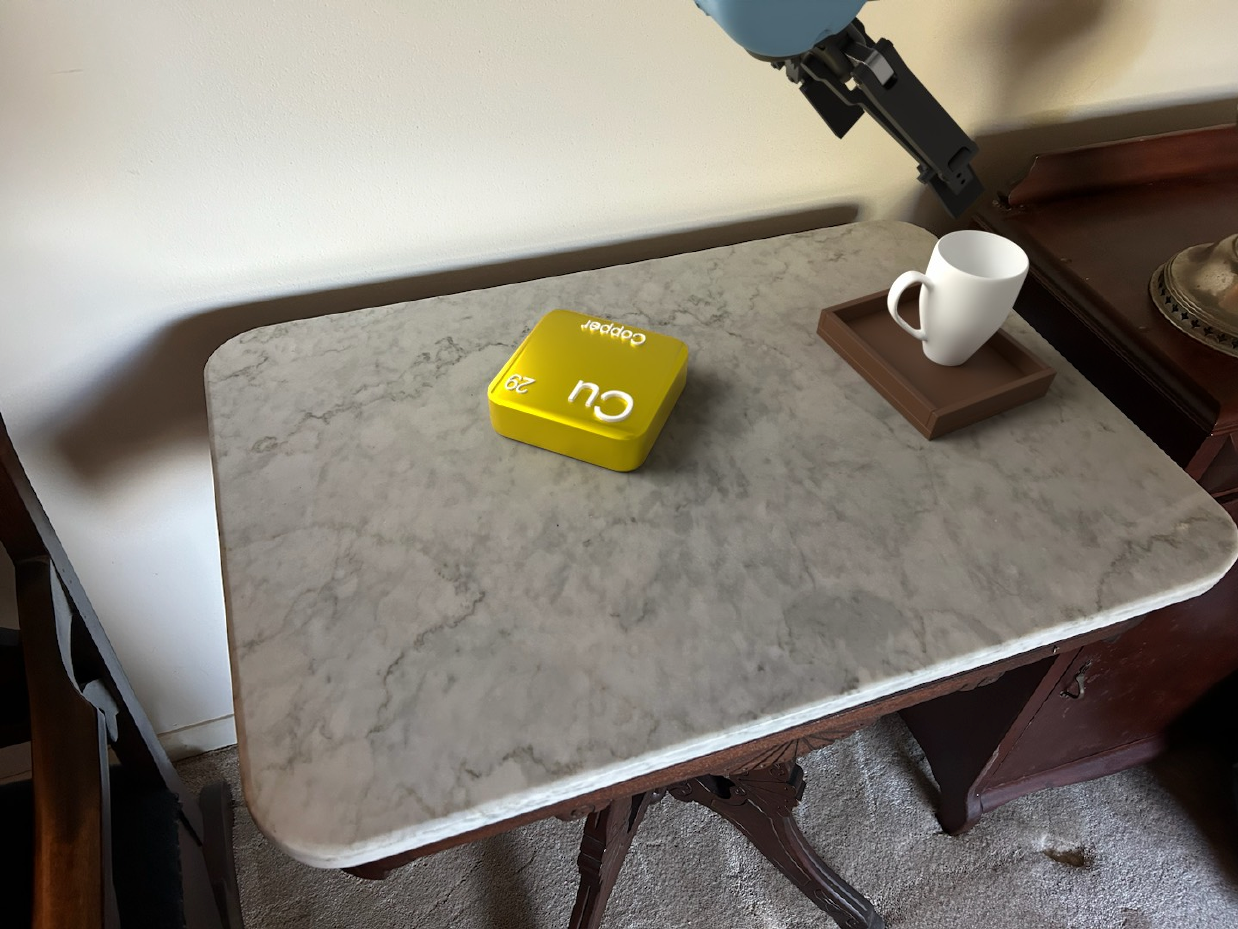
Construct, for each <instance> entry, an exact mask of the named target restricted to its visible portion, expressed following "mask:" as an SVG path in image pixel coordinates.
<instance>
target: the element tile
mask: <svg viewBox="0 0 1238 929" xmlns="http://www.w3.org/2000/svg"><path fill="white" fill-rule="evenodd" d="M689 357H690V352H689V346H688V345H687V344H686V343H685V342H684V341H683V340H681V339H679V338H677V337H674V336H670V335H666V334H663V333H659V332H655V331H652V330H649V329H644V328H640V327H637V326H633V325H630V324H625V323H621V322H617V321H613V320H609V319H607V318H603V317H600V316H599V317H598V316H595V315H591V314H587V313H584V312H581V311H577V310H576V311H575V310H572V309H565V308H564V309H563V308H555V309H553V310H551V311H549V312H547V313H546V314H545V315H543V316H542V317H541V318H540V320H539V321H538V322H537V324H536V325H535V326H534V327H533V329H532V330H531V332H530V333H529V334H528V335H527V336H526V338H525V339H524V340H523V342H522V343H520V345H519V347H518V348H517V349H516V351H515V352H514V353H513V354H512V355H511V357H510V358H509V360H508V361H507V362H506V363H505V364H504V366H503V367H502V368H501V370H500V371H499V372H498V373H497V375H496V376H495V377H494V378H493V380H492V381H491V382H490V384H489V385H488V389H487V401H488V409H489V417H490V424H491V425H492V428H493V431H495V432H496V433H497V434H499V435H500V436H503V437H505V438H508V439H511V440H514V441H518V442H521V443H525V444H528V445H531V446H535V447H538V448H541V449H544V450H547V451H550V452H553V453H557V454H560V455H563V456H567V457H569V458H573V459H576V460H580V461H582V462H585V463H589V464H593V465H596V466H598V467H602V468H605V469H609V470H611V471H615V472H631V471H634V470H636V469H638V468H639V467H641V466H642V465H643V463H645V461H646V460H647V458H648V456H649V454H650V452H651V450H652V448H653V446H654V445H655V443H656V441H657V439H658V437H659V435H660V433H661V432H662V430H663V428H664V426H665V424H666V422H667V420H668V418H669V417H670V415H671V414H672V411H673V409H674V407H675V405H676V404H677V402H678V400H679V398H680V396H681V395H682V392H683V390H684V389H685V386H686V383H687V375H688V367H689V366H688V365H689Z"/></svg>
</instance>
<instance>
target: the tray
mask: <svg viewBox="0 0 1238 929" xmlns="http://www.w3.org/2000/svg"><path fill="white" fill-rule="evenodd" d="M921 287H922V282H914V283H912V284H910V285H909V286H908V287H906V288H905V289H904V291H903V292H902V293H901V295H900V297H899V300H898V304H897V313H898V315H899V316H900V318H901V319H902V320H904V321H905V322H906V323H907V324H908V325H909V326H910V327H912V328H913V329H915V330H921V324H920V311H919V300H920V292H921ZM890 289H891V287H889V288H886V289H883V290H879V291H877V292H873V293H870V294H867V295H864V296H860V297H857V298H854V299H851V300H848V301H844V302H841V303H837V304H834V305H831V306H828V307H825V308H822V309H821V310H820V314H819V318H818V323H817V328H816V330H815V332H816V335H818V336H819V337H820V338H821V339H822V340H823V341H824V342H825V343H826V344H827V345H828V346H829V347H830V348H831V349H832V350H833V351H835V353H837V354H838V355H839V356H840V358H842V359H843V360H844V361H845V362H846V363H847V364H848V366H850V367H851V368H852V369H853V370H854V371H855V372H856V373H857V374H858V375H860V377H862V378H863V379H864V380H865V381H866V383H867V384H868V385H870V386H871V387H872V388H873V389H874V390H875V391H876V392H877V393H878V394H879V395H880V396H881V397H882V398H884V400H886V402H888V403H889V404H890V405H891V406H892V407H893V409H895V410H896V411H897V412H898V413H899V414H900V415H901V416H902V417H903V418H904V419H905V420H906V421H907V422H908V423H909V424H910V425H911V426H912V427H914V428H915V429H916V430H917V431H918V432H919V433H920V434H921V435H922V436H923V437H924V438H925V439H926V440H927V441H931V440H934V439H936V438H939V437H942V436H944V435H946V434H949V433H952V432H955V431H957V430H960V429H962V428H964V427H967V426H970V425H973V424H975V423H978V422H980V421H983V420H985V419H988V418H990V417H993V416H995V415H998V414H1001V413H1004V412H1006V411H1008V410H1011V409H1014V408H1017V407H1018V406H1022V405H1024V404H1027V403H1029V402H1032V401H1034V400H1037V399H1039V398H1042V397H1044V396H1045V397H1046V395H1047V393H1048V392H1049V389H1050V387H1051V386H1052V384H1053V381H1055V380H1054V379H1055V378H1056V376H1057V374H1058V371H1057V370H1056V369H1055V368H1053V367H1052V366H1051V365H1050V364H1048V363H1047V362H1046V361H1044V360H1043V359H1042V358H1041V357H1039V356H1038V355H1036V353H1034V352H1033V351H1031V350H1030V349H1029V348H1027V347H1026V346H1025V344H1023V343H1021V342H1020V341H1018V340H1017V339H1016V338H1015V337H1014V336H1012V335H1011V334H1010V333H1008V332H1007V331H1006V330H1004V329H1003V328H1002V326H1000V328H999V329H998V330H997V331H996V332H995V333H994V334H993V335H992V336H991V337H990V338H989V339H988V340H987V341H986V342H985V343H984V344H983V345H982V346H981V347H980V348H979V349H978V350H977V351H976V352H975V353H974V354H972V355H971V356H970V357H969V358H968V359H967V360H966V361H965V362H964V363H962V364H960V365H957V366H945V365H941V364H938V363H935V362H934V361H932V360H930V359H929V358H928V357H927V356H926V355H925V353H924V350H923V342H922V340H919V339H917V338H915V337H914V336H912V335H911V334H910V333H908V332H907V331H906V330H905V329H904V328H902V327H901V326H900V325H899V324H898V323H897V322H896V321H895V320H894V318H893V317H892V315H891V313H890V311H889V309H888V295H889V292H890Z"/></svg>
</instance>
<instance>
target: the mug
mask: <svg viewBox="0 0 1238 929" xmlns="http://www.w3.org/2000/svg"><path fill="white" fill-rule="evenodd" d="M1029 268H1030V260H1029V258H1028V255H1027V254H1026V252H1025V251H1024V250H1023V249H1022V248H1021V247H1020V246H1019V245H1017V244H1016V243H1014V242H1013V241H1012V240H1010V239H1008V238H1006V237H1004V236H1001V235H998V234H995V233H992V232H987V231H982V230H973V229H972V230H971V229H969V230H966V229H965V230H958V231H957V230H956V231H953V232H950V233H948V234H947V233H946V234H945V235H943V236H942V237H941V238H940V239H939V240H938V241H937V243H936V244H935V246H934V248H933V251H932V253H931V256H930V260H929V262H928V265H927V268H926V271H925V273H924V274H923V273H922V272H920V271H917V270H908V271H906V272H904V273H902V274H901V275H899V276H898V277H897V279H896V280H895V281H894V282H893V284H892V285H891V287H890V288H891V289H890V292H889V295H888V309H889V311H890V313H891V315H892V317H893V318H894V320H895V321H896V322H897V323H898V324H899V325H900V326H901V327H902V328H904V329H905V330H906V331H907V332H908V333H910V334H911V335H912V336H914V337H915V338H917V339H919V340H922V342H923V350H924V353H925V355H926V356H927V357H928V358H929V359H930V360H932V361H934V362H935V363H938V364H941V365H945V366H957V365H960V364H962V363H964V362H965V361H966V360H967V359H968V358H969V357H970V356H971V355H972V354H974V353H975V352H976V351H977V350H978V349H979V348H980V347H981V346H982V345H983V344H984V343H985V342H986V341H987V340H988V339H989V338H990V337H991V336H992V335H993V334H994V333H995V332H996V331H997V330H998V329H999V328H1000V327H1002V325H1003V324H1004V323H1005V321H1007V318H1008V317H1009V315H1010V313H1011V311H1012V309H1013V307H1014V305H1015V302H1016V300H1017V298H1018V296H1019V294H1020V291H1021V289H1022V286H1023V285H1024V281H1025V279H1026V278H1027V274H1028V272H1029ZM914 282H922V287H921V292H920V300H919V311H920V324H921V330H915V329H913V328H912V327H910V326H909V325H908V324H907V323H906V322H905V321H904V320H902V319H901V318H900V316H899V315H898V313H897V304H898V300H899V297H900V295H901V293H902V292H903V291H904V289H905V288H906V287H908V286H909V285H910V284H912V283H914Z"/></svg>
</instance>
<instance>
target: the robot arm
mask: <svg viewBox="0 0 1238 929" xmlns="http://www.w3.org/2000/svg"><path fill="white" fill-rule="evenodd" d="M876 1H879V0H692V2H694V3H695V5H696V7H697V9H699V10H701V11H702V12H703V13H704V14H705V16H706V17H710V18H712V19H713V21H714V22H715V23H716V24H717V25H718V26H719V27H720V28H721V29H722V30H723V31H724V32H725V33H726V35H728V37H729V38H730V39H731V40H732V41H734V42H735V43H736V44H737V45H738V46H740V47H742V48H743V49H744V51H745V52H746V53H747V54H748V55H749V56H751V57H752V58H754V59H755V60H758V61H760V62H764V63H770V66H771V67H772V68H773V69H774V70H777V71H779V72H780V71H781V70H782V69H783V68H784V67H785V76H786V77H787V80H788V81H789V82H790V83H792V84H795V85H798V84H799V83H800V84H801V85H800V86H799V87H798V90H799V91H800V93H801V95H803V96H804V97H805V99H806V100H807V101H808V103H809V104H810V105H811V107H812V108H813V109H814V110H815V112H816V113H817V114H818V116H819V117H820V118H821V119H822V121H823V122H824V123H825V124H826V126H827V127H828V128H829V130H830V131H831V132H832V134H834V136H835V137H836V138H838V139H840V140H842V139H843V138H844V137H845V136H846V135H847V134H848V132H850V130H851V129H852V128H853V127H854V126H855V125H856V124H857V122H859V120H860V119H861V118H862V117H863V115H864V114H865V113H867V114H868V115H869V116H870V117H871V118H872V119H873V120H874V121H875V122H876V123H877V124H878V125H879V126H880V127H881V128H882V129H883V130H884V131H885V132H886V133H887V134H888V135H889V136H891V138H892V139H893V140H894V141H895V142H896V143H897V144H898V145H899V146H900V147H902V149H904V151H906V152H907V153H908V154H909V156H911V158H913V159H914V160H915V161H916V162H917V163H918V165H917V166H916V167H915V169H916V170H917V171H918V173H919V175H918V176H916V180H917V181H918V182H919V183H921V184H922V185H925V186H926V185H927V187H929V189H930V190H931V191H932V193H933V195H934V196H935V197H936V199H937V200H938V202H939V203H940V204H941V206H942V207H943V209H944V211H945V212H946V213H947V215H948V216H949V217H951V218H952V219H954V220H955V221H957V220H958V219H959V218H960V216H961V215H963V214H964V213H965V211H966V210H967V209H968V208H969V207H970V206H971V205H972V204H973V203H974V202H975V201H976V200H978V198H979V197H980V196H981V195H982V194H983V193H984V192H985V191H986V189H985V187H984V185H983V184H982V182H981V180H980V178H979V176H978V175H977V174H976V172H975V170H974V169H973V167H972V165H971V163H970V162H972V160H973V159H974V158H975V157H976V156H977V155H978V154H979V153H980V147H979V146H978V144H977V143H976V142H975V140H972V139H971V138H970V137H969V135H967V134H968V133H966V132H965V131H964V129H963V128H961V126H960V125H959V124H958V123H957V122H956V121H955V119H954V118H953V117H952V116H951V115H950V114H949V113H948V111H947V110H946V109H945V108H944V107H943V106H942V104H941V103H940V102H939V101H938V100H937V99H936V97H935V96H934V95H933V94H932V93H931V92H930V91H929V90H928V88H927V87H926V86H925V85H924V84H923V83H922V82H921V80H920V79H919V78H918V77H917V76H916V75H915V73H913V71H912V70H911V68H910V67H909V66H908V65H907V64H906V62H905V61H904V59H903V58H902V56H901V54H900V53H899V52H898V51H897V49H896V48H895V46H894V43H893V42H892V41H891V39H886V38H885V37H881V36H880V38H879V39H878V41H877V42H876V41H875V40H873V39H872V38H871V37H870V35H869V34H868V33H867V31H866V26H865V24H864V23H863V22H862V21H861V20H860V19H859V18H858V17H857V16H858V14H859V13H860V12H861V11H862V9H863V8H864V7H865V5H866V4H867V2H876ZM851 80H853V82H854V83H855V86H854V87H852V89H850V88H849V87H848V86H847V83H849V81H851Z"/></svg>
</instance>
